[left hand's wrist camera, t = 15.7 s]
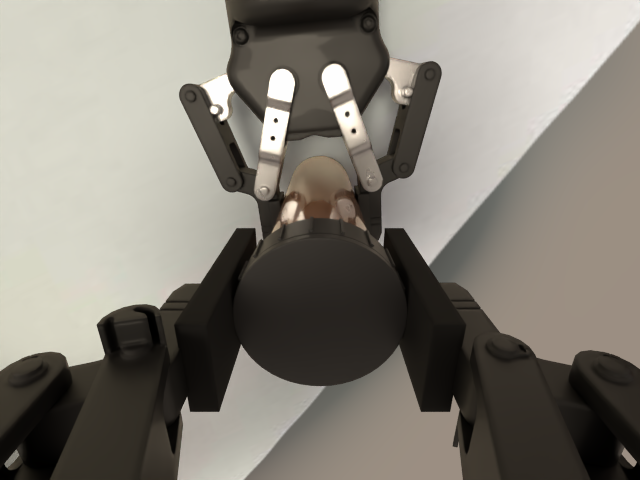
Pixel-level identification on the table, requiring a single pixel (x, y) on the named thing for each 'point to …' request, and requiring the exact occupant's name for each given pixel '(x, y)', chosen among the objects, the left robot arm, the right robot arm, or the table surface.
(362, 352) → the lid
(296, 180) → the bottle
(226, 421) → the table surface
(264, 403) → the table surface
